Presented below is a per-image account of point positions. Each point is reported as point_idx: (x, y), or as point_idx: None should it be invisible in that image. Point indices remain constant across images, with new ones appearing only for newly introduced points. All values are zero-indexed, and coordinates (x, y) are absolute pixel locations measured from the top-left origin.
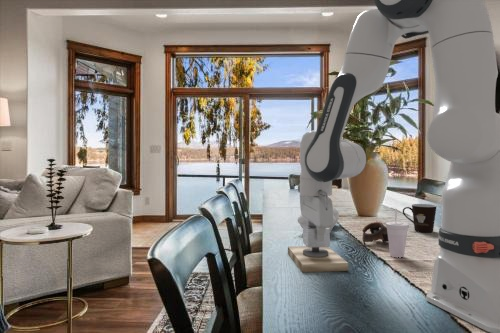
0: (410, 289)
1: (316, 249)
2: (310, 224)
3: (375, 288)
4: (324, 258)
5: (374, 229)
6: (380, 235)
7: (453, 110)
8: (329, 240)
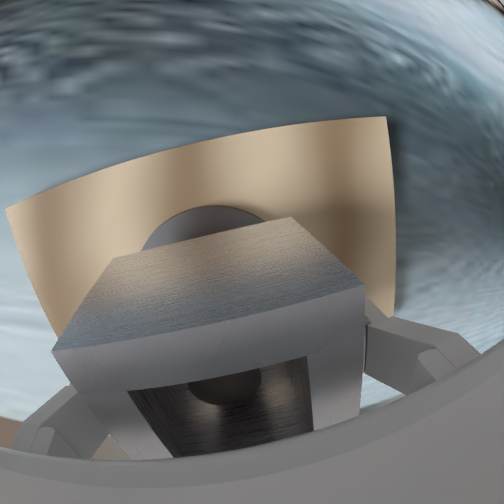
0: (484, 15)
1: None
2: (79, 443)
3: (496, 100)
4: None
5: None
6: None
7: None
8: (308, 234)
